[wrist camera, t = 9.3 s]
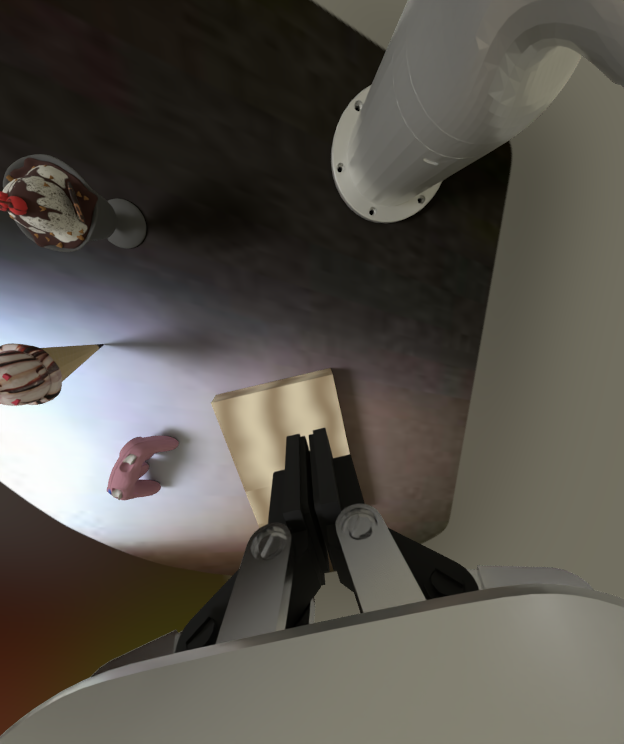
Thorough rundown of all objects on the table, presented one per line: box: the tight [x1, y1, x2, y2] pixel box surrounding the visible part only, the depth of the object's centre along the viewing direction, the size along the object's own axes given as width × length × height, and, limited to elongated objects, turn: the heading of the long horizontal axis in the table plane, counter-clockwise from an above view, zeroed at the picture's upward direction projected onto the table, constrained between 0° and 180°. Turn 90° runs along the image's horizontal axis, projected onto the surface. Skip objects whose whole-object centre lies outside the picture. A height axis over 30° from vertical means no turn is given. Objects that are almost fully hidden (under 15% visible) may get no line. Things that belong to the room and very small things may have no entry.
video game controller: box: [107, 436, 179, 500], centre depth 39 cm, size 10×5×7 cm, turn 153°
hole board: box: [211, 368, 350, 528], centre depth 42 cm, size 16×24×2 cm, turn 13°
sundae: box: [0, 154, 146, 252], centre depth 25 cm, size 7×7×15 cm
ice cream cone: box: [0, 344, 104, 406], centre depth 29 cm, size 6×6×15 cm
